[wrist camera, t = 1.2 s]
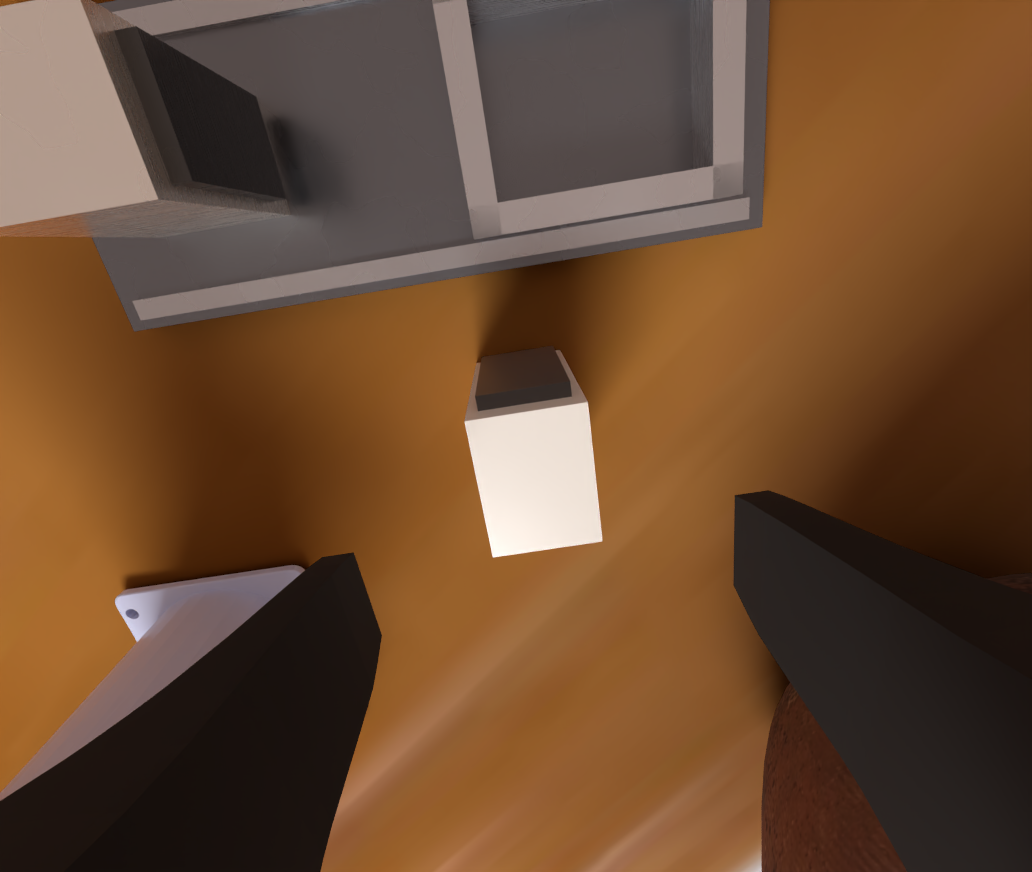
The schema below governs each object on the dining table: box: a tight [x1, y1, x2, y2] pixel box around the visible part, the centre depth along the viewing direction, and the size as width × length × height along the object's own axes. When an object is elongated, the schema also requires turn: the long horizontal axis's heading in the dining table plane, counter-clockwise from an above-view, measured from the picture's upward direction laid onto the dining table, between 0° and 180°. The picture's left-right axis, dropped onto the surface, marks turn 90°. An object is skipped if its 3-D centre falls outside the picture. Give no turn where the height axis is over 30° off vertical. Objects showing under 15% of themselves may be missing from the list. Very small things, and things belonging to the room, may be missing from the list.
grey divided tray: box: [0, 0, 770, 331], centre depth 11 cm, size 8×20×7 cm, turn 99°
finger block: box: [465, 346, 602, 557], centre depth 15 cm, size 3×4×6 cm
